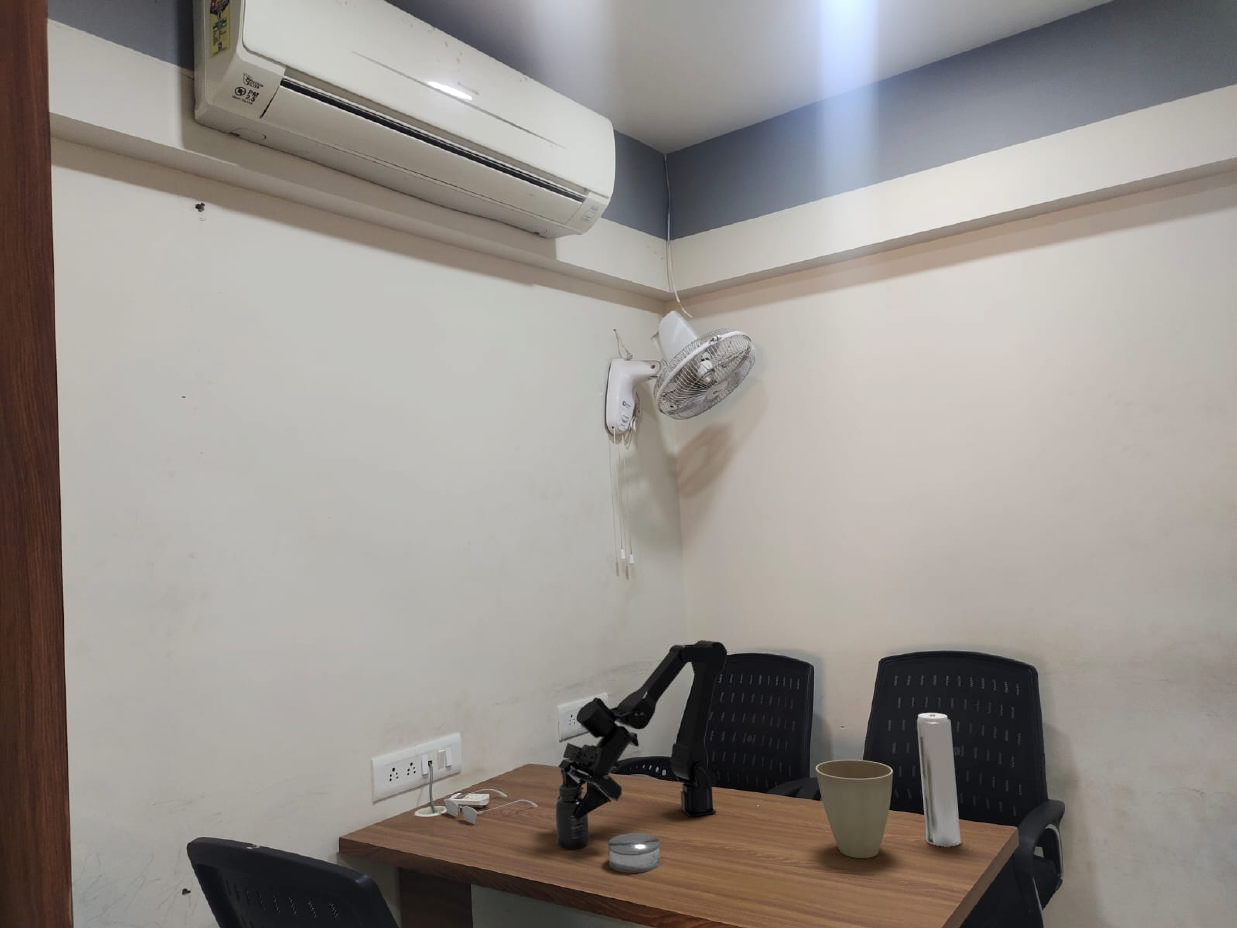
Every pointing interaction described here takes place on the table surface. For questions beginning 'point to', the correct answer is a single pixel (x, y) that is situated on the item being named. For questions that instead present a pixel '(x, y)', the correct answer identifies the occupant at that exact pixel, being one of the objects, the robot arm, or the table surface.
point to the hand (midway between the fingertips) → (566, 813)
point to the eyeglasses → (469, 812)
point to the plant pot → (856, 803)
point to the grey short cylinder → (634, 852)
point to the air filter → (938, 780)
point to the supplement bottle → (571, 818)
